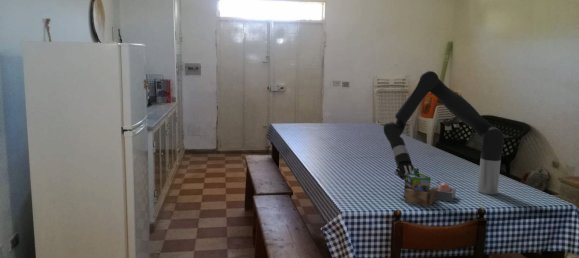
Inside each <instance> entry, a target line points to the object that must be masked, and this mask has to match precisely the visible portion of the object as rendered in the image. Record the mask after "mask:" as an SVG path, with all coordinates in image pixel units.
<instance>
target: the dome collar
mask: <svg viewBox="0 0 579 258" xmlns="http://www.w3.org/2000/svg"><path fill="white" fill-rule="evenodd" d="M438 186H439V185H436V186H435V187H434V188H436V195H435V200H439V201H445V200H446V201H447V202H451V201H452V202H453V201H454V199H455V198H456V192H457V191H456V188H453V187H450V192H446V191H439V190H438ZM454 197H455V198H454Z"/></svg>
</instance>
